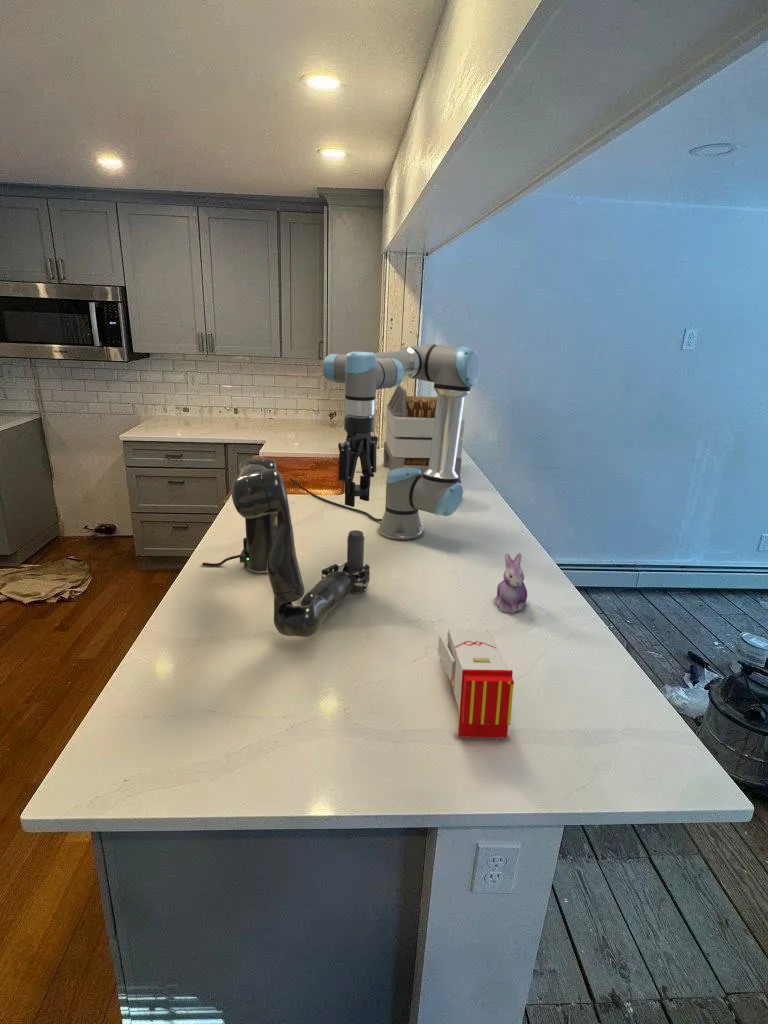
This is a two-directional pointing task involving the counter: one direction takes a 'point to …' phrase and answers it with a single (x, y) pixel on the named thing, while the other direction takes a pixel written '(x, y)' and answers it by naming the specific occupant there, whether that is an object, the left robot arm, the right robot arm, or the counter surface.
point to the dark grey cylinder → (355, 554)
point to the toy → (478, 682)
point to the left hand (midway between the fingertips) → (358, 565)
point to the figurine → (512, 586)
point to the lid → (361, 490)
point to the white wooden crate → (412, 431)
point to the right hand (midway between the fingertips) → (357, 502)
